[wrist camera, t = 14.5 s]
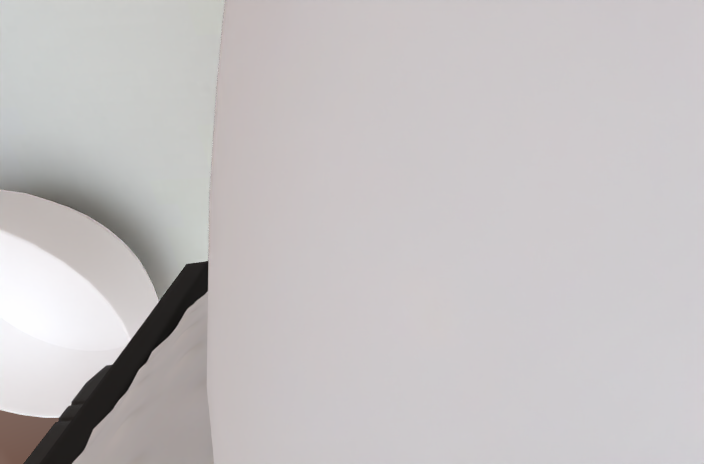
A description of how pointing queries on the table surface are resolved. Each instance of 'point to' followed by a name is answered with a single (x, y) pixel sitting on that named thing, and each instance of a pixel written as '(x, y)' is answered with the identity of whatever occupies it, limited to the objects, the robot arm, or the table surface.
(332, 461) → the mug
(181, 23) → the table surface
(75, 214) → the bowl
